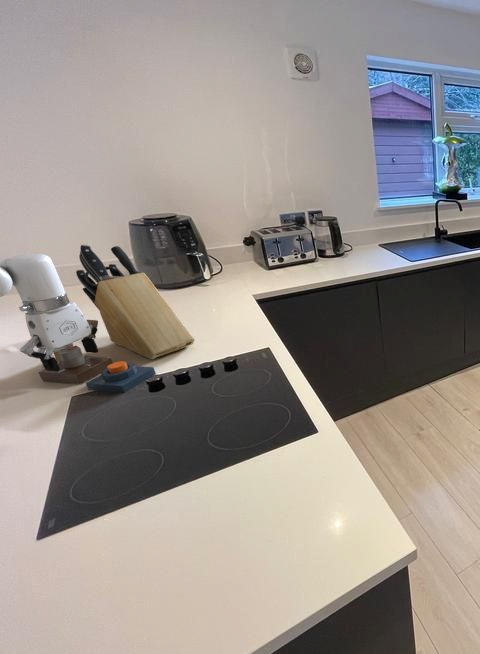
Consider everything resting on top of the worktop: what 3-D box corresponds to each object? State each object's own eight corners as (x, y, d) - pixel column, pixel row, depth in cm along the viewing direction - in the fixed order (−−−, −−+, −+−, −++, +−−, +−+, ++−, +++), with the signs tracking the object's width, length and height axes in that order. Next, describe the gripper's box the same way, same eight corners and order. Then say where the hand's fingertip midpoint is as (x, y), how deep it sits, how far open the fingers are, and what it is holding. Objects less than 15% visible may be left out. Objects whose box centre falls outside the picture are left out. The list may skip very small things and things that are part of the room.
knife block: (139, 323, 139) (107, 236, 127) (198, 347, 125) (168, 251, 113) (97, 336, 129) (58, 243, 117) (155, 363, 115) (118, 261, 103)
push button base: (88, 390, 103) (82, 377, 101) (122, 371, 111) (117, 359, 110) (124, 393, 102) (119, 379, 101) (156, 374, 111) (151, 361, 109)
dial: (74, 368, 106) (67, 353, 105) (60, 367, 107) (53, 352, 105) (90, 361, 110) (83, 345, 108) (76, 360, 110) (69, 345, 109)
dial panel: (42, 381, 106) (37, 371, 105) (79, 364, 114) (74, 354, 113) (80, 384, 105) (76, 374, 104) (114, 366, 113) (110, 357, 112)
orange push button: (105, 373, 104) (103, 367, 103) (119, 366, 107) (117, 360, 107) (118, 374, 104) (116, 368, 103) (131, 367, 107) (129, 361, 106)
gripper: (19, 317, 93) (49, 379, 100) (96, 291, 109) (118, 346, 116) (-10, 315, 94) (22, 377, 100) (71, 290, 110) (94, 344, 116)
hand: (73, 360), depth 108 cm, fingers open, 9 cm apart
